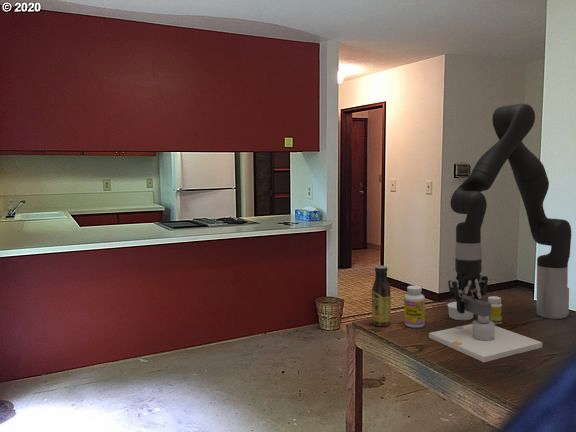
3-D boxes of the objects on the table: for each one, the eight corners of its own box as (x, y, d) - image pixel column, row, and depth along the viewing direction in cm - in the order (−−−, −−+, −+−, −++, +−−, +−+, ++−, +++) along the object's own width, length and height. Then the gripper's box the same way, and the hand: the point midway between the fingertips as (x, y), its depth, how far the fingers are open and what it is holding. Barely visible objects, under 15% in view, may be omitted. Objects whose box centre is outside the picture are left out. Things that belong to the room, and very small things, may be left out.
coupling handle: (491, 322, 145) (491, 303, 144) (483, 324, 143) (483, 304, 143) (465, 313, 154) (465, 295, 154) (457, 314, 153) (457, 296, 152)
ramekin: (456, 322, 166) (456, 309, 165) (442, 315, 174) (442, 303, 174) (480, 319, 168) (480, 307, 167) (464, 312, 176) (464, 300, 176)
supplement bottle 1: (402, 327, 162) (402, 289, 161) (406, 321, 168) (405, 284, 167) (423, 329, 160) (423, 290, 159) (426, 322, 166) (425, 285, 165)
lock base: (483, 326, 160) (483, 308, 160) (542, 347, 140) (542, 327, 140) (429, 337, 152) (428, 318, 151) (483, 362, 132) (483, 340, 131)
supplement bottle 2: (503, 324, 161) (503, 299, 160) (488, 324, 162) (488, 299, 161) (500, 320, 166) (500, 295, 165) (485, 320, 166) (485, 295, 166)
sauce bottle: (370, 322, 169) (368, 265, 167) (388, 320, 170) (387, 264, 168) (375, 328, 163) (373, 268, 161) (393, 326, 163) (392, 267, 161)
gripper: (477, 252, 155) (477, 305, 157) (441, 257, 150) (441, 311, 151) (495, 256, 148) (495, 311, 150) (458, 261, 143) (459, 318, 144)
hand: (468, 311), depth 151 cm, fingers open, 5 cm apart
